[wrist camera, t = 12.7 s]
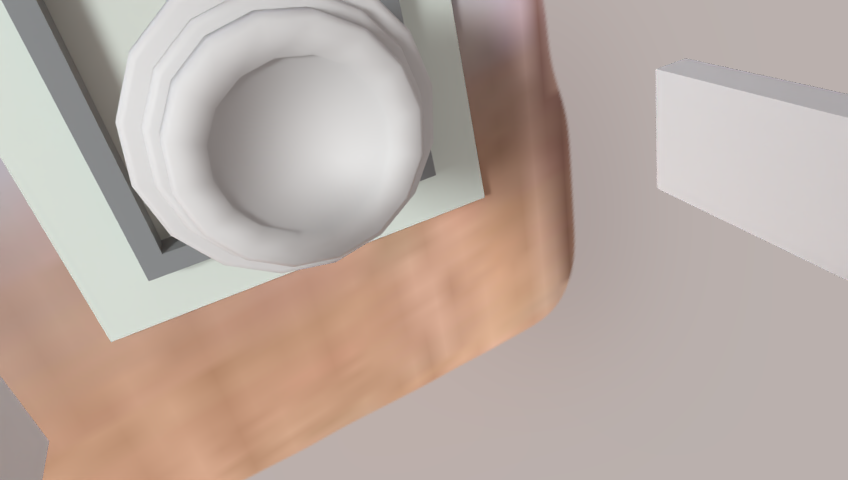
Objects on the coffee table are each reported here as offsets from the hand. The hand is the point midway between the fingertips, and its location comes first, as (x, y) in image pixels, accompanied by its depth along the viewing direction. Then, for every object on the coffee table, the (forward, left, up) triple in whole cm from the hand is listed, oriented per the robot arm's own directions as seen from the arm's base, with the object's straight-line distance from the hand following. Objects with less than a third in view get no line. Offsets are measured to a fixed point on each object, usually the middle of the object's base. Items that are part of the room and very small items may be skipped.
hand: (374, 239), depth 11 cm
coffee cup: (0, 0, -18) cm, 18 cm away
